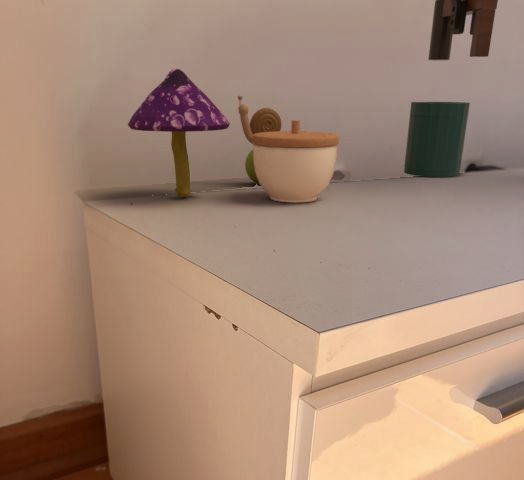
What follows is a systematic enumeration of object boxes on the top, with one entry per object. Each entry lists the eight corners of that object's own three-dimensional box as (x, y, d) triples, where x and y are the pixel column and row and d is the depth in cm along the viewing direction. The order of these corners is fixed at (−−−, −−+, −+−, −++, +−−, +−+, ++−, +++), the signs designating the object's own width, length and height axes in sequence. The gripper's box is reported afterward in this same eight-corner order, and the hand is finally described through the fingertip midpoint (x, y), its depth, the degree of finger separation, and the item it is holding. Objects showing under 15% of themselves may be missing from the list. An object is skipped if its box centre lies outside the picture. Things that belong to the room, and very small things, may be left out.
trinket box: (289, 209, 67) (292, 124, 63) (235, 197, 74) (234, 119, 70) (352, 199, 73) (358, 121, 69) (296, 188, 80) (298, 117, 76)
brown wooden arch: (492, 56, 78) (503, -12, 75) (471, 56, 77) (481, -13, 74) (443, 60, 90) (450, 2, 87) (424, 60, 90) (431, 1, 87)
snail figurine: (235, 182, 86) (234, 95, 80) (276, 181, 87) (277, 95, 82) (242, 188, 81) (242, 95, 76) (286, 186, 82) (288, 95, 77)
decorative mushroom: (182, 186, 82) (176, 70, 75) (250, 196, 75) (250, 69, 68) (113, 198, 73) (99, 68, 66) (183, 211, 66) (175, 66, 59)
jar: (443, 169, 101) (452, 101, 96) (469, 176, 93) (480, 103, 88) (395, 170, 99) (402, 101, 95) (418, 177, 91) (427, 103, 87)
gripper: (452, -133, 69) (433, 30, 76) (554, -124, 71) (526, 33, 79) (425, -114, 76) (409, 35, 83) (518, -106, 78) (496, 37, 85)
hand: (466, 33), depth 81 cm, fingers closed on brown wooden arch, 2 cm apart
